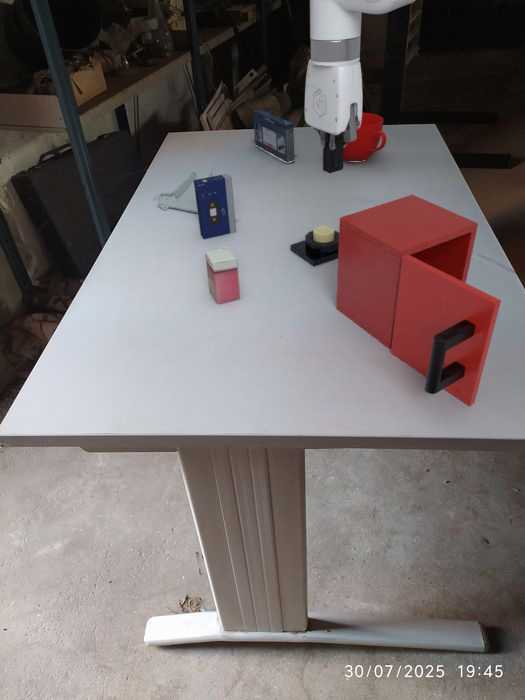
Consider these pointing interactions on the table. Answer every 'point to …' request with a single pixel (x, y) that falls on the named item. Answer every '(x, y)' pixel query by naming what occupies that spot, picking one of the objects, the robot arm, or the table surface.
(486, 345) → the door
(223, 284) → the small box
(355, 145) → the ceramic cup
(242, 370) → the table surface
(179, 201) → the metal bracket
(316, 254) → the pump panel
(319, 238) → the yellow button cap
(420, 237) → the cabinet
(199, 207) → the cassette player
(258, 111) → the vhs cassette tape
